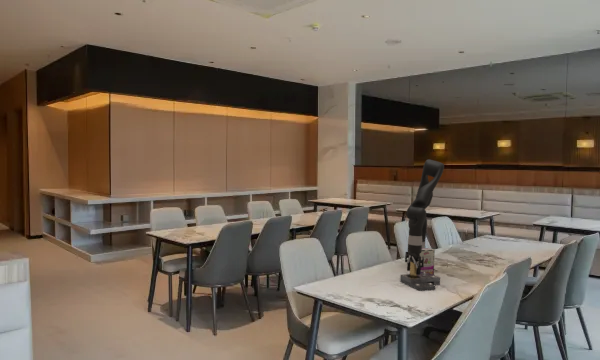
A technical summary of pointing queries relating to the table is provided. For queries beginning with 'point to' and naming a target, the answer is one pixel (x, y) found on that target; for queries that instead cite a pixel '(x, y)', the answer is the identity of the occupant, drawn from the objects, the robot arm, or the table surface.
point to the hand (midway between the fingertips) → (413, 272)
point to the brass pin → (413, 270)
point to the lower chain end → (419, 285)
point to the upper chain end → (422, 278)
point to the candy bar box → (428, 260)
